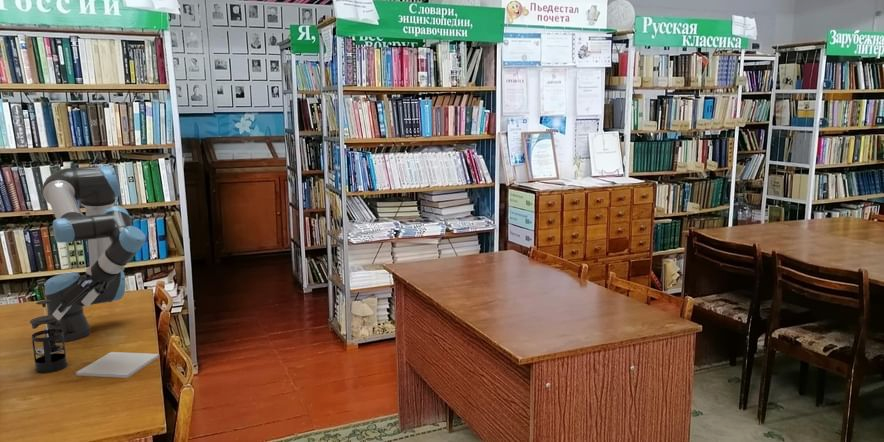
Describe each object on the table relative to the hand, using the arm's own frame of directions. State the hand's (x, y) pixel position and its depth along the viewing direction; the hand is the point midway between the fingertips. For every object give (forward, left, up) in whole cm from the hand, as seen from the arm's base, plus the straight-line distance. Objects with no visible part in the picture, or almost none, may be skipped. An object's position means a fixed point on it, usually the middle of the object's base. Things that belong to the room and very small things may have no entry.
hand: (70, 310), depth 214 cm
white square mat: (-4, +12, -20) cm, 24 cm away
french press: (0, -10, -20) cm, 22 cm away
